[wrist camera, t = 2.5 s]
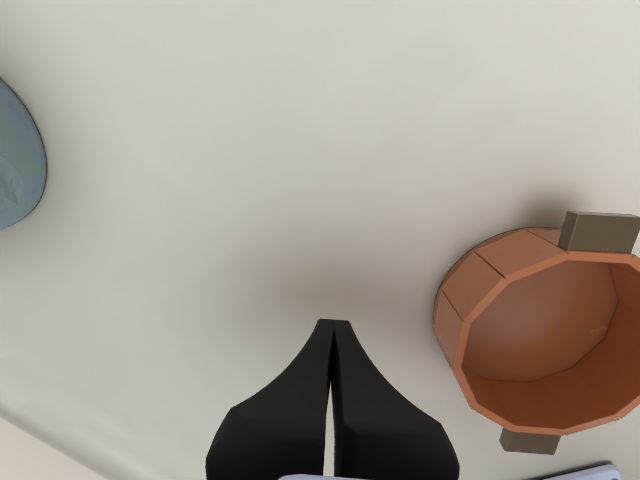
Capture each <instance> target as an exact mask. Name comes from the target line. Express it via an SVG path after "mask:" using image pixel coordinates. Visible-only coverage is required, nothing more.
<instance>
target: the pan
mask: <svg viewBox="0 0 640 480" xmlns="http://www.w3.org/2000/svg"><path fill="white" fill-rule="evenodd" d="M639 230H640V217H639V216H635V215H631V214H615V213H596V212H577V211H568V212H567V215H566V218H565V221H564V225H563V228H562V230H561V229H557V228H548V227H531V228H523V229H517V230H513V231H509V232H505V233H503V234H500V235H497V236H494V237H492V238H490V239H488V240H486V241H484V242H482V243H481V244H479V245H478V246H476V247H474V248H473V249H471V250H470V251H469V252H468V253H466V254H465V255H464V256H463V257H462V258H461V259H460V260H459V261H458V262H457V263H456V264H455V265H454V266H453V267H452V268H451V270H450V271H449V272H448V274H447V275H446V277H445V278H444V280H443V282H442V284H441V286H440V288H439V290H438V293H437V296H436V300H435V303H434V311H433V323H434V328H433V329H434V333H435V335H436V337H437V339H438V341H439V344H440V346H441V348H442V350H443V352H444V354H445V356H446V358H447V360H448V362H449V364H450V367H451V369H452V371H453V373H454V375H455V377H456V379H457V381H458V383H459V385H460V387H461V389H462V391H463V394H464V396H465V398H466V400H467V402H468V404H469V406H470V407H471V408H472V409H473V410H475V411H477V412H478V413H480V414H482V415H484V416H485V417H487V418H489V419H491V420H492V421H494V422H496V423H497V424H499V425H501V426H503V430H502V433H501V437H500V443H501V445H502V447H503V449H504V450H505V451H510V452H523V453H535V454H548V455H554V453H555V451H556V448H557V445H558V443H559V440H560V437H561V435H562V436H563V435H564V434H565V435H569V434H572V433H575V432H579V431H582V430H585V429H589V428H592V427H596V426H599V425H602V424H606V423H609V422H612V421H616V420H619V418H622V417H624V416H625V415H626V414H628V413H629V412H630V411H631V410H633V409H634V408H635V407H637V406H638V405H639V404H640V258H638V257H637V256H636V255H634V254H631V251H632V249H633V246H634V243H635V241H636V238H637V235H638V233H639ZM618 417H619V418H618Z"/></svg>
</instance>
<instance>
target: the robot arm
mask: <svg viewBox="0 0 640 480" xmlns="http://www.w3.org/2000/svg"><path fill="white" fill-rule="evenodd" d="M330 383H331V391H332V405H333V419H334V438H335V446H334V477H330V476H323V467H324V451H325V431H326V412H327V405H328V397H329V390H330ZM205 468H206V477H207V480H458V478H459V470H460V466H459V463H458V459H457V456H456V453H455V451H454V448H453V446H452V444H451V442H450V440H449V438H448V436H447V434H446V432H445V430H444V428H443V426H442V425H441V423H439V422H438V421H436V420H435V419H433V418H432V417H430V416H429V415H427V414H426V413H424V412H423V411H421V410H420V409H419V408H417V407H416V406H415V405H413V404H412V403H411V402H410V401H408V400H407V399H406V398H405V397H404V396H402V395H401V394H400V393H399V392H398V391H397V390H396V389H395V388H394V387H393V386H392V385H391V384H390V383H389V382H388V381H387V380H386V379H385V378H384V377H383V375H382V374H381V373H380V372H379V371H378V369H377V368H376V367H375V366H374V364H373V363H372V361H371V360H370V359H369V357H368V356H367V354H366V353H365V351H364V349H363V348H362V346H361V344H360V343H359V341H358V339H357V337H356V335H355V333H354V331H353V329H352V326H351V323H350V322H349V321H345V320H330V319H319V320H318V321H317V324H316V326H315V329H314V331H313V332H312V334H311V336H310V338H309V339H308V341H307V342H306V344H305V345H304V347H303V348H302V350H301V351H300V352H299V354H298V355H297V356H296V358H295V359H294V360H293V361H292V362H291V363H290V365H289V366H288V367H287V368H286V369H285V370H284V371H283V372H282V373H281V374H280V375H279V376H277V377H276V378H275V379H274V380H273V381H272V382H271V383H270V384H268V385H267V386H266V387H264V388H263V389H262V390H260V391H259V392H258V393H256V394H255V395H253V396H252V397H250V398H248V399H247V400H245V401H243V402H241V403H240V404H238V405H236V406H234V407H232V408H231V409H230V410H229V412H228V413H227V415H226V417H225V418H224V420H223V422H222V423H221V425H220V427H219V429H218V431H217V433H216V435H215V437H214V439H213V442H212V444H211V447H210V449H209V452H208V454H207V457H206V466H205ZM544 480H622V477H621V473H620V471H619V470H618V469H617V468H616V467H615V466H614V465H610V464H608V465H603V466H598V467H594V468H590V469H586V470H582V471H577V472H573V473H569V474H565V475H561V476H556V477H552V478H548V479H544Z"/></svg>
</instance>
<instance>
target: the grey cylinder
mask: <svg viewBox="0 0 640 480" xmlns="http://www.w3.org/2000/svg"><path fill="white" fill-rule="evenodd" d="M45 179H46V157H45V153H44V148H43V144H42V141H41V138H40V135H39V132H38V130H37V128H36V126H35V124H34V122H33V120H32V118H31V116H30V114H29V113H28V111H27V110H26V108H25V107H24V105H23V104H22V103H21V101H20V100H19V99H18V98H17V96H16V95H15V94H14V93H13V92H12V90H11V89H10V88H9V87H8V86H7V85H6V84H5V83H4V82H2V81H1V80H0V229H3V228H5V227H8V226H11V225H13V224H15V223H16V222H18V221H19V220H21V219H22V218H24V217H25V216H26V215H27V214H28V213H30V212H31V211H32V209H33V208H35V207H36V205H37V203H38V202H39V200H40V198H41V196H42V193H43V190H44V185H45Z"/></svg>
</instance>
